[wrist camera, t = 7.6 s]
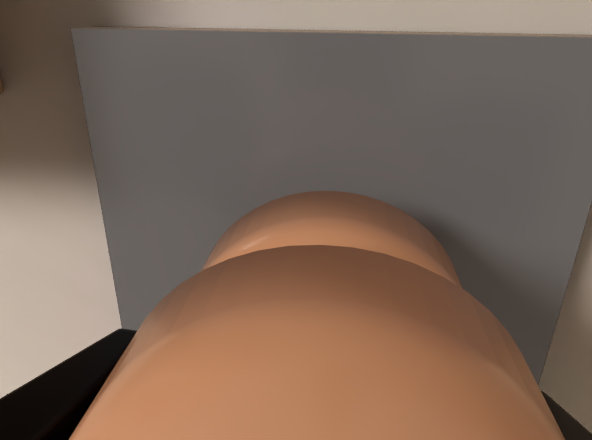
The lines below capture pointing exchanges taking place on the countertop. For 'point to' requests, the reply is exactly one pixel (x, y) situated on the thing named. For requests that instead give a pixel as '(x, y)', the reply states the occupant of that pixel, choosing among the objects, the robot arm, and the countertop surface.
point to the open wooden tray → (1, 86)
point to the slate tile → (345, 148)
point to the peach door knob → (321, 340)
